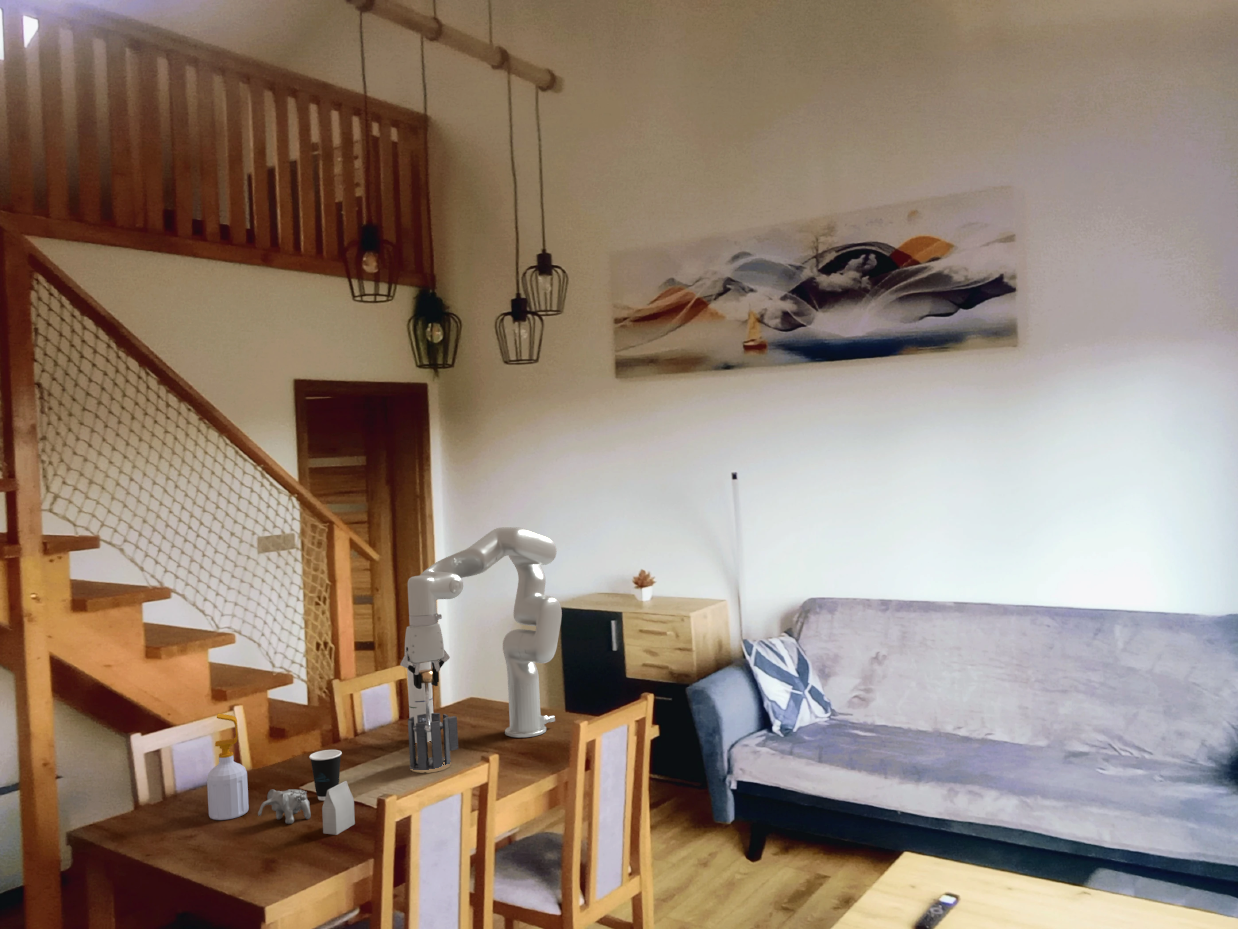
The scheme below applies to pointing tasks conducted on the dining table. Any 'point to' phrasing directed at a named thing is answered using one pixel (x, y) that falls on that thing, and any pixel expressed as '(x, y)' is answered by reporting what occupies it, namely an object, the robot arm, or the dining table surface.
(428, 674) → the plunger
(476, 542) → the robot arm
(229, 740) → the soap bottle
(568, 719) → the dining table surface
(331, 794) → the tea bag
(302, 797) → the gray elephant figurine
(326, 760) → the dixie cup
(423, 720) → the frame
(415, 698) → the cylindrical container
